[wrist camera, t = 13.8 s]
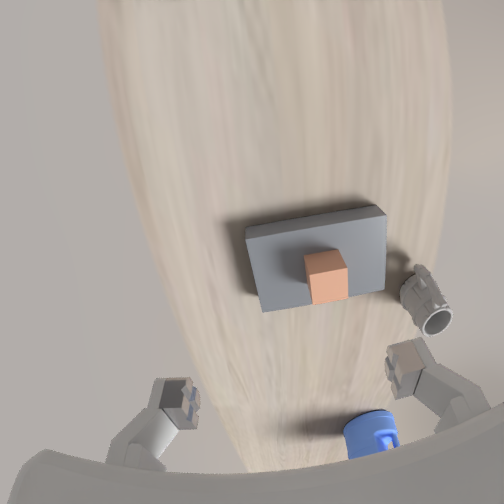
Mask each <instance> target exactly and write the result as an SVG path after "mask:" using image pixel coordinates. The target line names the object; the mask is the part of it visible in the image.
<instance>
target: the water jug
mask: <svg viewBox="0 0 504 504" xmlns="http://www.w3.org/2000/svg"><path fill="white" fill-rule="evenodd" d="M343 433H344V437H345V440H346V445H347V450H348V458H349V460H350V459H354V458H359V457H363V456H367V455H371V454H375V453H378V452H382V451H385V450H388V444H389V443H390V441H392V442H393V446H394V448H396V447H399V446H400V444H399V441H398V438H397V433H398V432H397V429H396V426H395V423H394V417H393V415H392V413H390V412H388V411H383V410H380V411H373V412H369V413H366V414H363V415H360V416H358V417H356V418H354V419H353V420H351V421H350V422H349V423H348V424H347V425H346V426H345V427H344V430H343Z"/></svg>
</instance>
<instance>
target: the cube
mask: <svg viewBox="0 0 504 504" xmlns="http://www.w3.org/2000/svg"><path fill="white" fill-rule="evenodd" d="M304 261H305V269H306V277H307V285H308V289H309V292H310V296H311V300H312V304H313V305H316V304H322V303H327V302H332V301H337V300H342V299H347V298H348V268H347V266H346V264H345V262H344V260H343V258H342V256H341V254H340V252H339V250H338V249H336V250H331V251H325V252H320V253H314V254H308V255H304Z"/></svg>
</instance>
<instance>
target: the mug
mask: <svg viewBox="0 0 504 504" xmlns="http://www.w3.org/2000/svg"><path fill="white" fill-rule="evenodd" d="M414 271H415V275H413V276H411V277H410V278H408V280H406V281H405V284H403V285H402V287H401V289H400V301H401V304H402V306H403V308H404V309H405V310H407V311H408V312H409V313H410V315H411V316H412V320H413V323H414V325H416V326H417V327H419V329H420V330H421V332H422V333H423V335H425V336H427V337H431V336H434V335H437V334H440V333H441V332H443V330H445V329H446V328H447V327H448V326H449V324H450V323H451V321H452V316H453V312H452V310H451V309H450V307H449V306H448V304H447V300H446V298H445V296H444V295H442V294H441V291H440V289H439V287H438V286H437V283H436V282H435V281H434V279H433V277H432V274H431V272H430V271H428V270H427V269H426V267H424V266H423V265H418V264H416V265H414Z"/></svg>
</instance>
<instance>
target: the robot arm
mask: <svg viewBox="0 0 504 504" xmlns="http://www.w3.org/2000/svg"><path fill="white" fill-rule="evenodd" d="M386 352H387V355H388V356H387V357H386V359H385V372H386V376H387V379H388V380H389V381H391V382H392V385H391V390H392V392H393V395H394V398H395V400H397V399H401V398H404V397H408V396H411V395H414V397H416V398H417V399H418V400H419V401H421V402H422V403H423V404H424V405H425V406H427V407H428V408H429V409H430V410H432V411H433V412H434V413H435V414H437V415H438V416H439V417H440V418H441V419H440V421H439V422H438V424H437V426H436V427H435V429H434V432H435V434H434V435H431V436H429V437H426V438H423V439H420V440H417V441H414V442H411V443H408V444H405V445H402V446H399V447H396V448H392V449H389V450H385V451H382V452H378V453H375V454H371V455H367V456H363V457H359V458H354V459H350V460H345V461H340V462H335V463H330V464H324V465H319V466H312V467H306V468H298V469H290V470H281V471H271V472H258V473H238V474H197V473H177V472H166V467H165V465H163V464H162V463H161V462H160V461H159V460H157V459H158V458H159V456H160V455H161V454H162V453H163V451H164V450H165V449H166V447H167V446H168V445H169V443H170V442H171V441H172V439H173V438H174V437H175V435H176V434H177V433H178V431H179V430H186V429H197V425H198V417H199V416H198V415H197V413H196V412H197V411H198V409H199V408H200V395H199V391H198V390H197V388H196V387H194V386H193V381H192V379H191V378H190V377H187V378H156V380H155V381H154V384H153V388H152V392H151V396H150V399H149V403H148V407H147V408H144V409H143V410H142V411H141V412H140V413H139V414H138V415H137V416H136V417H135V418H134V419H133V420H132V421H131V422H130V423H129V424H128V425H127V426H126V427H125V428H124V429H123V430H122V431H121V432H119V433H118V434H117V435H116V437H114V438H113V439H112V440H111V444H110V447H109V451H108V455H107V458H106V462H105V463H101V462H96V461H91V460H87V459H82V458H78V457H74V456H70V455H66V454H63V453H60V452H56V451H53V450H48V449H45V450H42V451H40V452H39V453H37V454H36V455H35V456H33V457H32V458H31V459H30V460H28V461H27V462H26V463H25V464H24V465H23V466H22V468H21V470H20V471H19V473H18V475H17V478H16V480H15V483H14V485H13V488H12V490H11V493H10V497H9V500H8V503H7V504H504V402H503V403H501V404H499V405H497V406H495V407H493V408H491V407H490V405H489V403H488V401H487V400H486V398H485V396H484V394H483V392H482V390H481V388H480V387H479V386H478V385H476V384H474V383H473V382H471V381H469V380H467V379H466V378H464V377H462V376H461V375H459V374H457V373H455V372H453V371H452V370H450V369H448V368H447V367H445V366H443V365H441V364H436V362H435V360H434V358H433V356H432V354H431V352H430V351H429V349H428V347H427V345H426V343H425V341H424V340H423V338H422V337H418V338H415V339H412V340H407V341H404V342H400V343H397V344H393V345H389V346H388V347H387V351H386Z"/></svg>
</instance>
